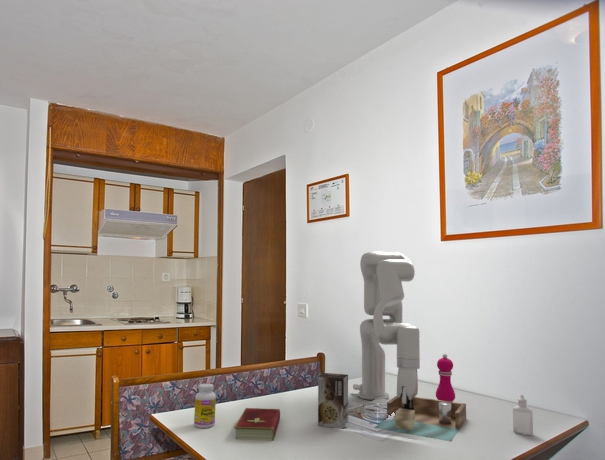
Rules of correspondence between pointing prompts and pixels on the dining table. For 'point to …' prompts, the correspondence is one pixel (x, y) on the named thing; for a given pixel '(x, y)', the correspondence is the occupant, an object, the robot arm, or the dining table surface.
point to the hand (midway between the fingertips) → (408, 419)
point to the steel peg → (445, 412)
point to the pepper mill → (445, 380)
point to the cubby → (427, 418)
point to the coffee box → (332, 400)
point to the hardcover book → (258, 424)
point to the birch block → (405, 419)
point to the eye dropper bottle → (522, 418)
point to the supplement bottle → (205, 406)
